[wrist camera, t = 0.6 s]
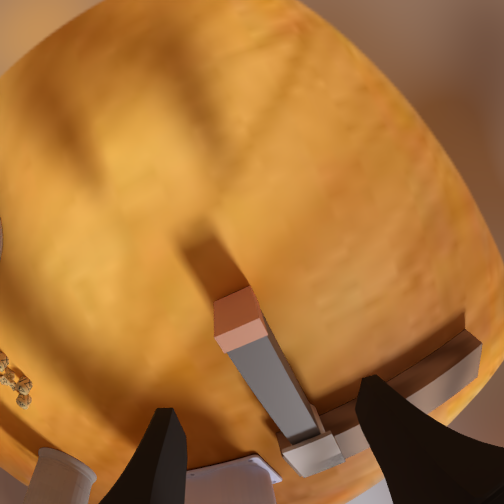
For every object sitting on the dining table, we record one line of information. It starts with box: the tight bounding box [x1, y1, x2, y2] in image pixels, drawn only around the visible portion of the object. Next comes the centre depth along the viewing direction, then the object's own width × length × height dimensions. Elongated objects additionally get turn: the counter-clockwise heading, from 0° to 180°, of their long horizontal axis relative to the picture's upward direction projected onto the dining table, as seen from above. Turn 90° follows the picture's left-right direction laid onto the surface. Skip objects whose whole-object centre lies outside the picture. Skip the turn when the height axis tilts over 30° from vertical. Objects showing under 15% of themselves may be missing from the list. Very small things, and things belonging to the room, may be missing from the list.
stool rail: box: [276, 329, 482, 478], centre depth 22 cm, size 22×10×5 cm, turn 114°
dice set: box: [0, 352, 32, 409], centre depth 19 cm, size 5×5×2 cm
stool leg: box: [214, 286, 325, 446], centre depth 19 cm, size 15×3×4 cm, turn 24°
